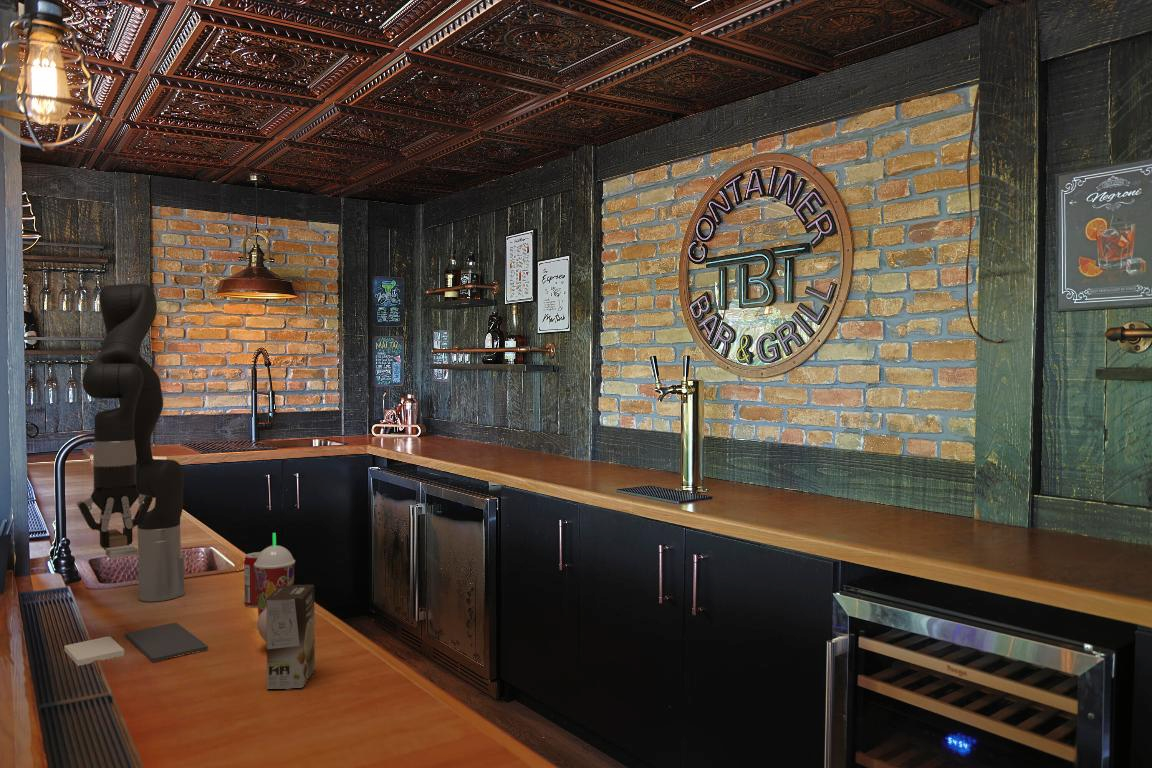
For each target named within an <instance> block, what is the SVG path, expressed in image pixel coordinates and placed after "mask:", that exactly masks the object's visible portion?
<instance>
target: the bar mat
mask: <svg viewBox="0 0 1152 768" xmlns="http://www.w3.org/2000/svg"><path fill="white" fill-rule="evenodd" d="M124 637H125V638H126V639H127V640H128V641H129V642H131V644H132V645H133V646H134V647H136V648H137V649H138V650H139V651H140V652H141V653H142V654H143V655H144V656H145V657H146V658H147V659H148V660H150V662H152V663H153V664H154V663H158V662H157V661H159V662H162V661H161V660H163V661H165V660H164V659H167V658H171V657H174V656H178V655H182V654H187V653H192V652H197V651H202V650H207V649H208V650H209V646H208V645H207V644H206V643H205V642H203V641H202V640H200V639H199V638H197V637H196V636H195V635H193V634H192V632H190V631H188V630H187V629H186V628H184V626H182V625H181V624H180V623H178V622H172V623H166V624H162V625H157V626H153V627H152V626H151V627H146V628H141V629H137V630H132V631H127V632H124ZM208 650H207V651H208ZM202 652H203V651H202ZM167 660H168V659H167Z"/></svg>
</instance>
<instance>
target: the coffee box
mask: <svg viewBox="0 0 1152 768" xmlns="http://www.w3.org/2000/svg"><path fill="white" fill-rule="evenodd" d="M266 609H267V642H266V681H267V684H266V685H267V686H266V687H267V689H286V690H290V689H289V688H300V687H304V688H305V686H306V685H307V683H308V682H309V680H310V678H311V677H312V675H313V674H314V672H315V671H316V649H315V648H316V646H315V645H316V640H315V637H316V634H315V628H316V625H315V623H316V622H315V621H316V620H315V615H316V614H315V584H294V585H291V586H280V587H279V588H278V589H277V590H276V591H274V592H273V593H272V594H271V595H270V596H269V597H268V598H267V599H266ZM314 670H315V671H314ZM313 671H314V672H313ZM312 673H313V674H312ZM311 674H312V675H311ZM310 676H311V677H310ZM309 677H310V678H309ZM308 679H309V680H308ZM306 682H307V683H306ZM304 685H305V686H304ZM267 689H266V690H267Z"/></svg>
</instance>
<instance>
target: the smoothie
mask: <svg viewBox="0 0 1152 768" xmlns="http://www.w3.org/2000/svg"><path fill="white" fill-rule="evenodd" d="M276 534H277V533H276V532H272V545H269V546H267V547H265V548H264V549H263V550H261V551H260V552H261V553H260V554H259V555H258V558H257V560H256V562H255V563H254V568H255V581H256V594H257V606H258V607H257V615H258V616H257V617H258V618H259V616H260V614H261V613H262V612H263V611H264V610H265V609H266V599H267V598H268V597H269V596H270V595H271V594H272V593H273V592H274V591H276V590H277V589H278V588H279V587H280V586H291V585H295V584H294V582H295V564H296V559H294V557H293V555H292V553H291V551H289V549H287V548H286V547H284V546H282V545H277V535H276ZM258 618H257V619H258Z"/></svg>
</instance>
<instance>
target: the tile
mask: <svg viewBox="0 0 1152 768" xmlns="http://www.w3.org/2000/svg"><path fill="white" fill-rule="evenodd" d="M63 647H64V650H63V651H64V652H65V654H67V655H68V657H69V658H70V659H71V661H73V662H74V664H75V665H76V666H77V667H80V666H84V665H89V664H92V663H91V662H93V661H95V660H102V661H106V660H105V659H107V660H111V659H115V658H114V657H116V658H121V657H124V656H125V654H126V653H125V652H126V650H125V649H124V648H123V647H122V646H121V645H120V644H119V643H118V642H116V641H115V640H114V639H113V638H112V637H111V636H110V635H109V636H104V637H99V638H95V639H90V640H84V641H80V642H79V641H78V642H76V643H70V644H67V645H64V646H63ZM110 658H111V659H110ZM93 663H94V662H93Z"/></svg>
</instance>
